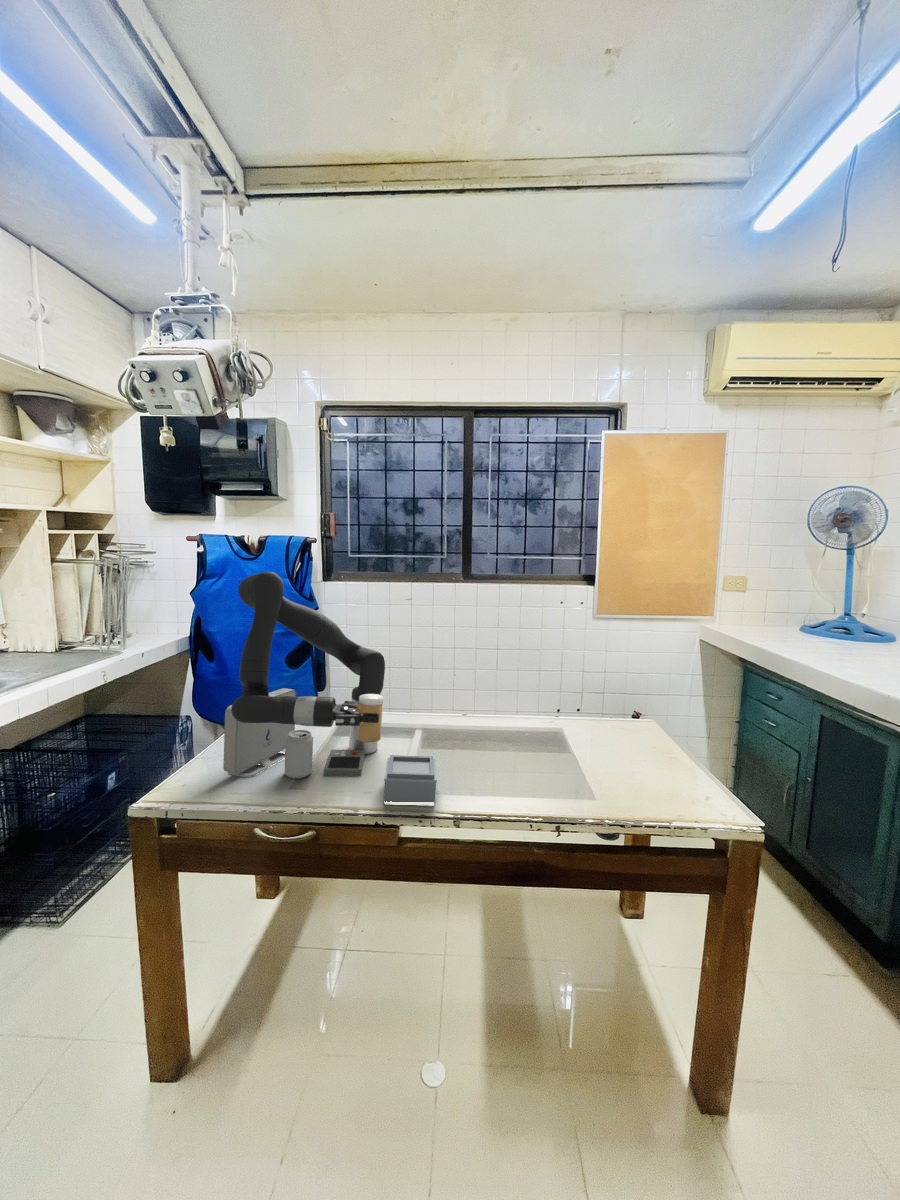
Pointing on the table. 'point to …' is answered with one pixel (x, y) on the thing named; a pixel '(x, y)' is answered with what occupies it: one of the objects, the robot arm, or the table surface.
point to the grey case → (410, 779)
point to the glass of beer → (370, 705)
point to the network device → (253, 741)
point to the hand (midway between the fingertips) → (379, 714)
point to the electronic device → (344, 762)
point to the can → (298, 754)
